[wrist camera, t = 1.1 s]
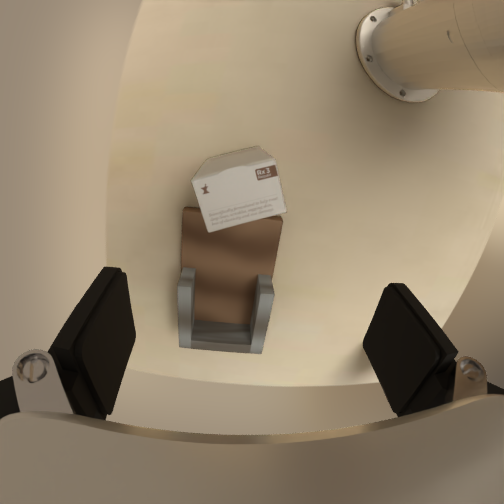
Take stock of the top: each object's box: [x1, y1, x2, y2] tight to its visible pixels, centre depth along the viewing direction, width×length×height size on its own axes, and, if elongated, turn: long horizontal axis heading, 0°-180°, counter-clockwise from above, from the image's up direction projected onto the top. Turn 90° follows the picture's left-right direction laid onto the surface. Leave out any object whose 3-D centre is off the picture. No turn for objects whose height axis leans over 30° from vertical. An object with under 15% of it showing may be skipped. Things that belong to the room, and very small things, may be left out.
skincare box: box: [191, 146, 287, 233], centre depth 25 cm, size 6×4×12 cm
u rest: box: [177, 207, 283, 354], centre depth 34 cm, size 18×11×6 cm, turn 172°
